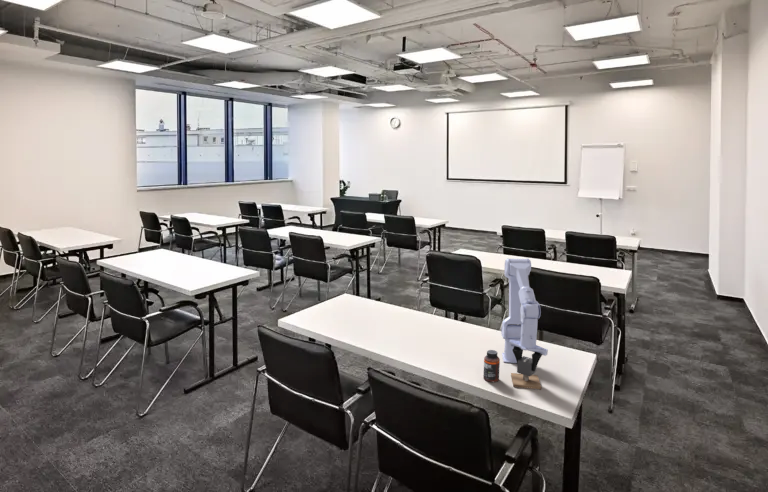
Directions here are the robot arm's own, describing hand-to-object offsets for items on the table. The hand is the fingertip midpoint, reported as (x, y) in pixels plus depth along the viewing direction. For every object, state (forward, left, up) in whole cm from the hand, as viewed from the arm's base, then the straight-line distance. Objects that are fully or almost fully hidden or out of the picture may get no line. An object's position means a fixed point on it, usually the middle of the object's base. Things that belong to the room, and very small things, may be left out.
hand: (526, 368), depth 179 cm
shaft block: (0, 0, -6) cm, 6 cm away
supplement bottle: (0, -13, -6) cm, 14 cm away
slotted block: (0, 0, -2) cm, 2 cm away
